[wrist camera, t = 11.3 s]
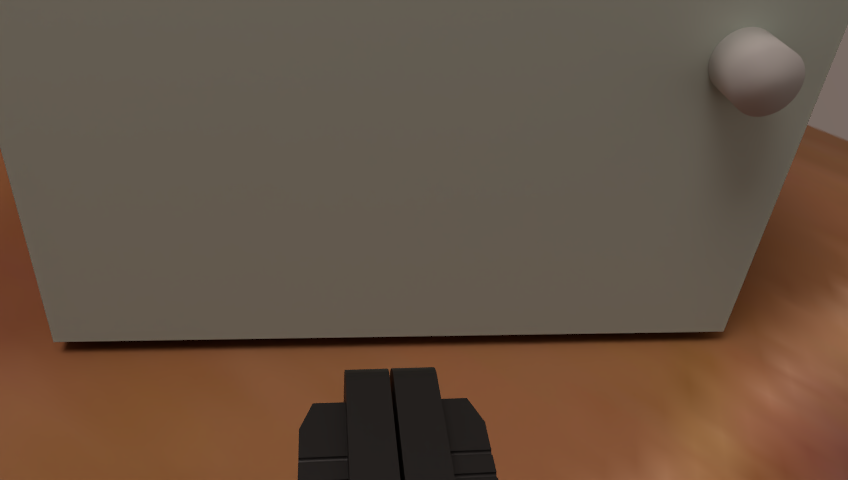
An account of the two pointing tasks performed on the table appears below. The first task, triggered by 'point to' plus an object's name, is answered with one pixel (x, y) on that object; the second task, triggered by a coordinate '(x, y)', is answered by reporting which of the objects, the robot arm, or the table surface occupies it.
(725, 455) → the table surface
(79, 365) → the table surface
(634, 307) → the sage door
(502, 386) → the table surface
